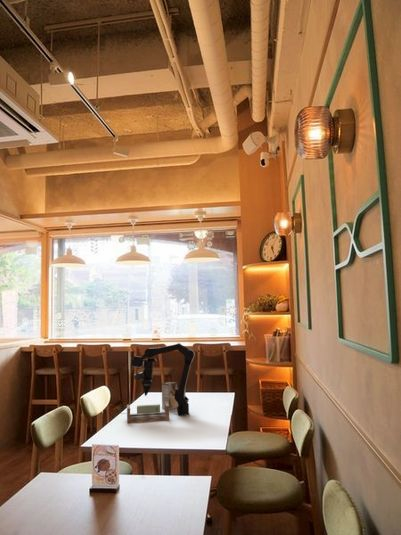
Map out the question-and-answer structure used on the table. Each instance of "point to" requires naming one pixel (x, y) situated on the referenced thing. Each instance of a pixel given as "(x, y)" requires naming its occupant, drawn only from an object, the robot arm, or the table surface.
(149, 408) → the door panel
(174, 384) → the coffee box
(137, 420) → the cabinet base
